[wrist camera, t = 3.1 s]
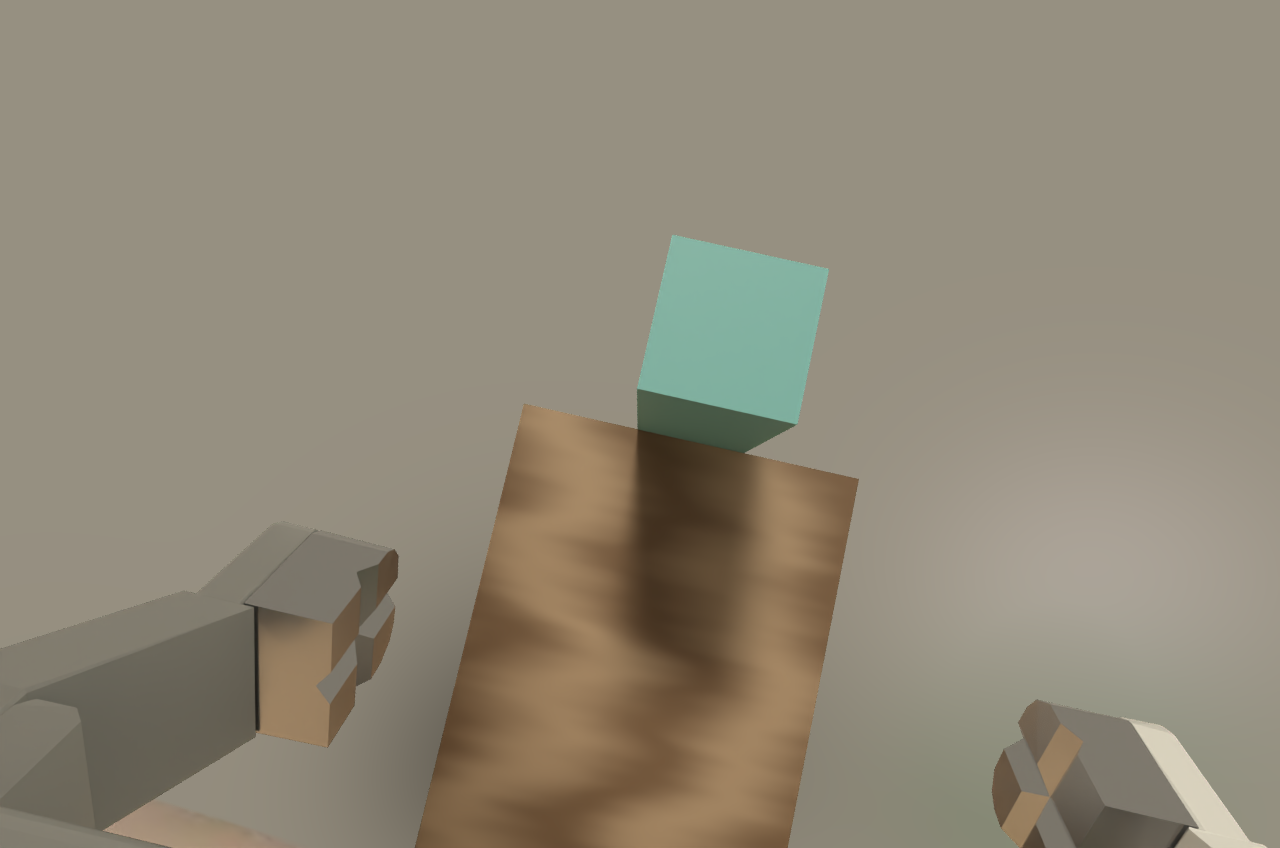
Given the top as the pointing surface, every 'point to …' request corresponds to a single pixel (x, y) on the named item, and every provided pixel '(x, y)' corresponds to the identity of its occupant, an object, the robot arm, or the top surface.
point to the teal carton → (728, 345)
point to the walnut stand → (640, 646)
